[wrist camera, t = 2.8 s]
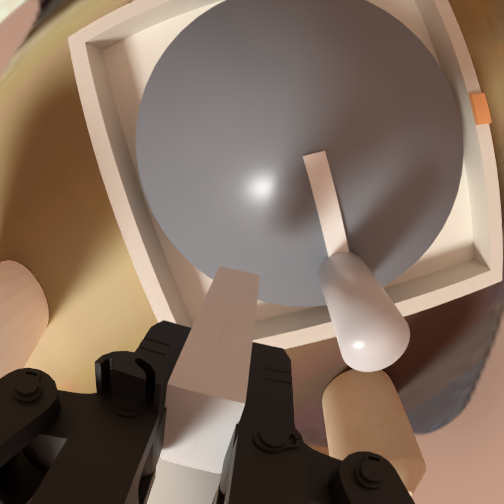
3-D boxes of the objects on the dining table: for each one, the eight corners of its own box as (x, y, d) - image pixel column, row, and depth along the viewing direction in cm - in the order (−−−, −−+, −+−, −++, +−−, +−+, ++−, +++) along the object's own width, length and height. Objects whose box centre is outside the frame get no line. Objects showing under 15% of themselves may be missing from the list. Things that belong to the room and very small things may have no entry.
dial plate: (94, 49, 15) (64, 36, 12) (402, -30, 12) (422, -54, 9) (192, 339, 21) (179, 371, 18) (476, 262, 18) (504, 282, 15)
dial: (119, 56, 14) (29, 15, 7) (394, -13, 12) (454, -82, 4) (205, 317, 19) (169, 414, 11) (461, 248, 17) (544, 307, 9)
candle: (387, 355, 21) (434, 465, 11) (395, 404, 22) (430, 503, 13) (313, 379, 22) (327, 500, 12) (330, 424, 23) (344, 530, 13)
